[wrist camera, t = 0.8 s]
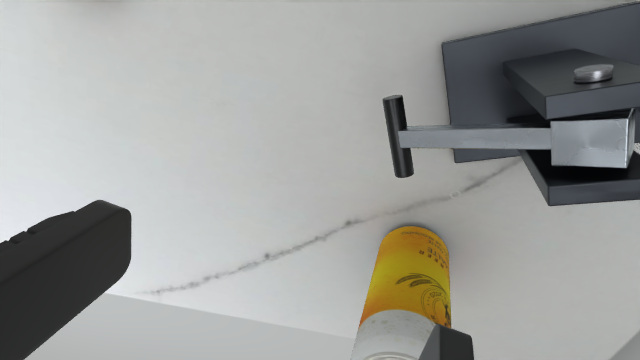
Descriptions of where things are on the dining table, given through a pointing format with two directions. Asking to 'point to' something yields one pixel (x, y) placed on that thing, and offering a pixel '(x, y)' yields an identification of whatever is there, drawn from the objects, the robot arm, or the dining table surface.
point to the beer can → (404, 296)
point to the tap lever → (520, 137)
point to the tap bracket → (551, 92)
